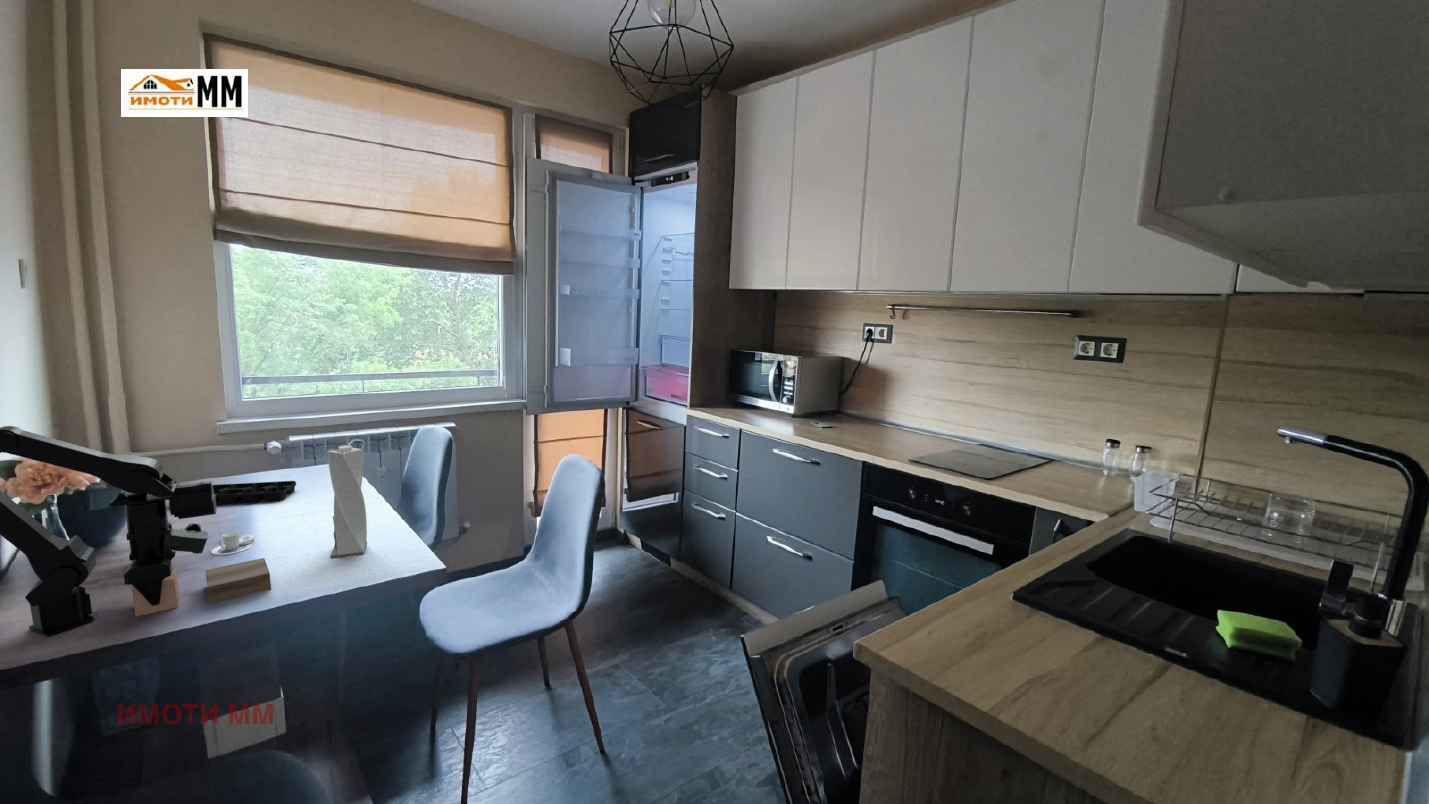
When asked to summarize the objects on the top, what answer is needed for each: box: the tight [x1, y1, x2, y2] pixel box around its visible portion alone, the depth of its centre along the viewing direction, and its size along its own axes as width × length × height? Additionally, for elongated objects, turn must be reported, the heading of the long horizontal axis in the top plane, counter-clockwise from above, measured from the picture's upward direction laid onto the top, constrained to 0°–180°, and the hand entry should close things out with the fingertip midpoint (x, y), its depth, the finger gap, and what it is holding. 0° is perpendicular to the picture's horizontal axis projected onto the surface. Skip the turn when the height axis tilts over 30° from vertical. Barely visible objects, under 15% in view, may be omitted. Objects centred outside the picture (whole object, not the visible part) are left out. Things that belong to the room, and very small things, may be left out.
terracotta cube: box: [131, 567, 181, 617], centre depth 116 cm, size 6×6×6 cm
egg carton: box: [212, 480, 297, 506], centre depth 179 cm, size 18×30×4 cm, turn 119°
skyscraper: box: [326, 438, 368, 559], centre depth 142 cm, size 8×8×28 cm
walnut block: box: [205, 557, 272, 605], centre depth 124 cm, size 10×10×4 cm
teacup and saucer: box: [210, 531, 255, 556], centre depth 144 cm, size 9×8×4 cm
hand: (157, 598), depth 116 cm, fingers closed on terracotta cube, 6 cm apart
